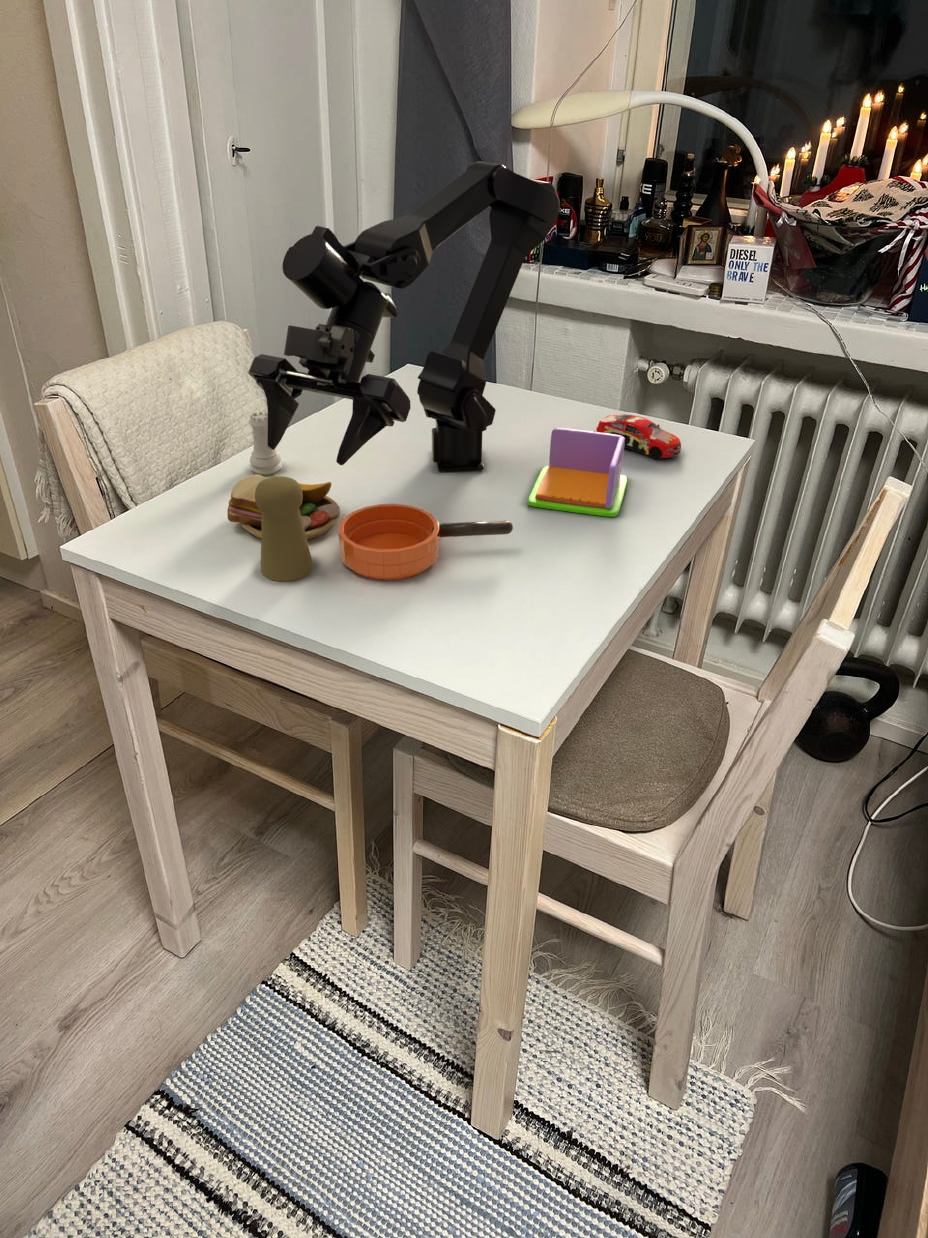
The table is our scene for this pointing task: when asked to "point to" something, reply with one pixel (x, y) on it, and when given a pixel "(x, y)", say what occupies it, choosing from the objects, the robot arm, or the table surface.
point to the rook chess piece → (263, 447)
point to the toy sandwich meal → (313, 510)
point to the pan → (389, 541)
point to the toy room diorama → (582, 473)
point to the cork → (282, 530)
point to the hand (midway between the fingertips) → (304, 455)
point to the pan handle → (474, 528)
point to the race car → (641, 435)
